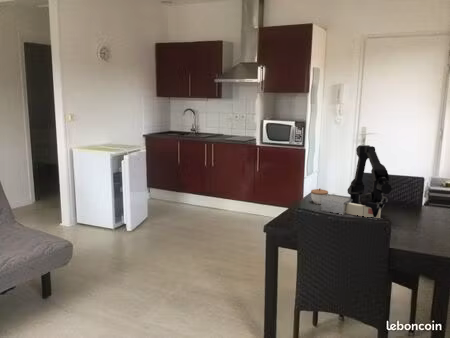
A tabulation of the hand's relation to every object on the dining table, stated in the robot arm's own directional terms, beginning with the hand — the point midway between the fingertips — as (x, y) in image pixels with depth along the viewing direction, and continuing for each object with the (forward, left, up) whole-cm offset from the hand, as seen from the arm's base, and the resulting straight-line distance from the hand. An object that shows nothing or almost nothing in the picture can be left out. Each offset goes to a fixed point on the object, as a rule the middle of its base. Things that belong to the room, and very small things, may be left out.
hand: (375, 216), depth 231 cm
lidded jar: (-10, -40, -2) cm, 41 cm away
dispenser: (0, -24, -1) cm, 24 cm away
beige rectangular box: (0, -8, -1) cm, 8 cm away
